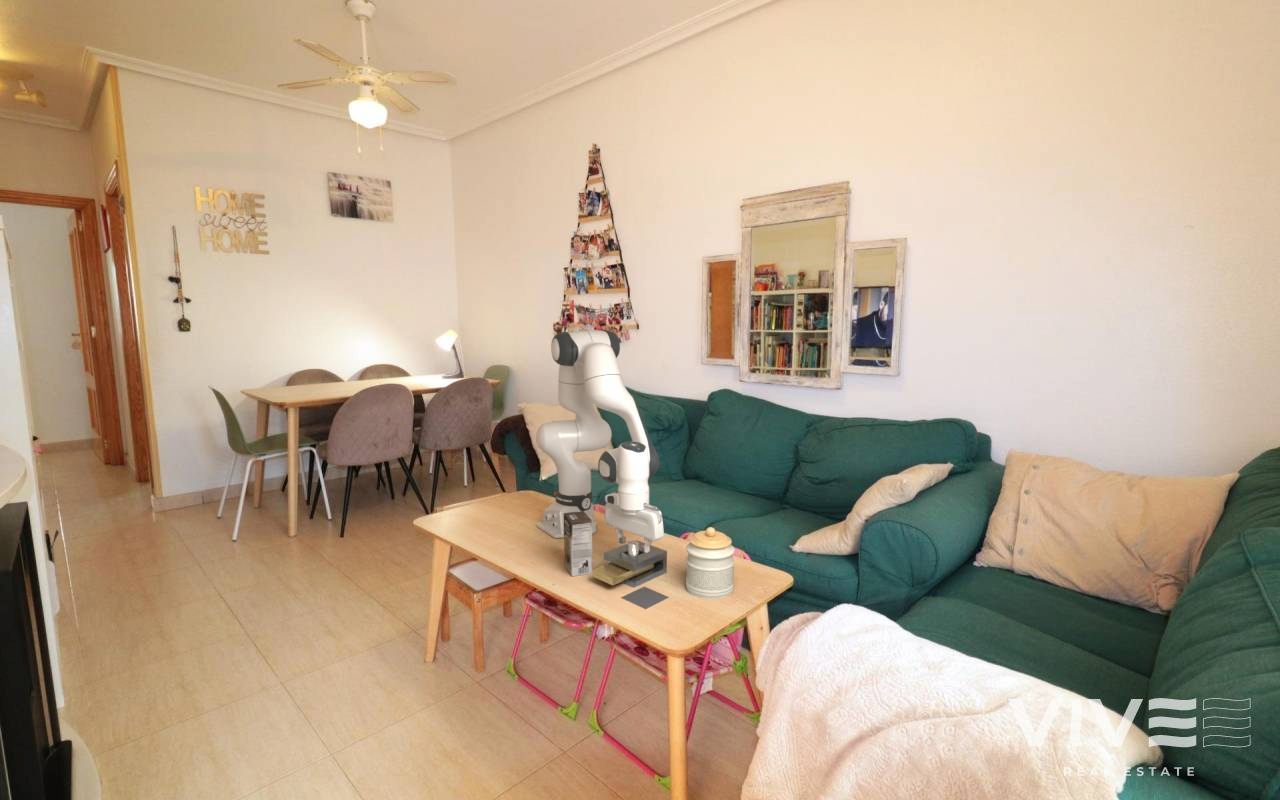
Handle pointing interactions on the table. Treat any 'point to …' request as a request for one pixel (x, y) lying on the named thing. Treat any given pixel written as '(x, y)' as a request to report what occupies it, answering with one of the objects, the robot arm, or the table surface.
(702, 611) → the table surface
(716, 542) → the jar
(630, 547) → the pin
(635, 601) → the mat
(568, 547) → the coffee box
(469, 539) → the table surface
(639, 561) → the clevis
